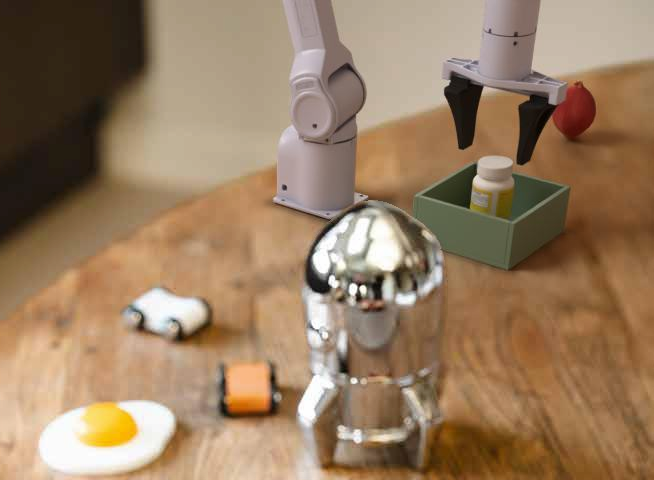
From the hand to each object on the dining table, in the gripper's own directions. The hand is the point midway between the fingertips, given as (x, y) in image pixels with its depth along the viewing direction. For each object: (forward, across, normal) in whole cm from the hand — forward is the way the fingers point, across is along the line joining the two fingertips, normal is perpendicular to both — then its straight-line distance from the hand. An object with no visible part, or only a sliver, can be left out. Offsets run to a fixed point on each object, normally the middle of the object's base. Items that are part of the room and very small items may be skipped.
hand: (493, 154), depth 138 cm
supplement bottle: (+9, -1, 0) cm, 9 cm away
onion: (+10, +6, -34) cm, 35 cm away
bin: (+9, -1, 0) cm, 9 cm away
